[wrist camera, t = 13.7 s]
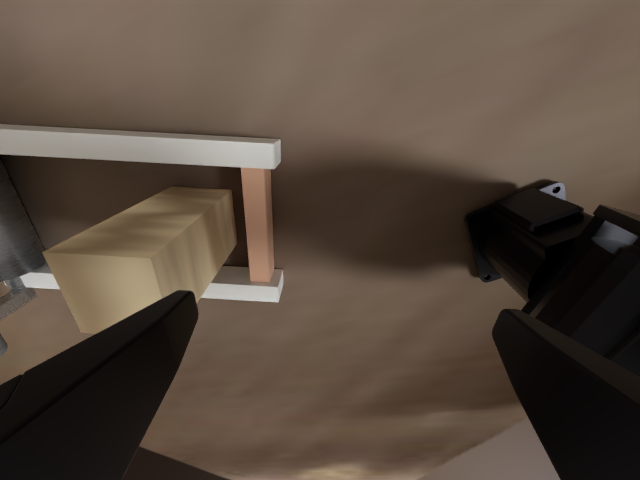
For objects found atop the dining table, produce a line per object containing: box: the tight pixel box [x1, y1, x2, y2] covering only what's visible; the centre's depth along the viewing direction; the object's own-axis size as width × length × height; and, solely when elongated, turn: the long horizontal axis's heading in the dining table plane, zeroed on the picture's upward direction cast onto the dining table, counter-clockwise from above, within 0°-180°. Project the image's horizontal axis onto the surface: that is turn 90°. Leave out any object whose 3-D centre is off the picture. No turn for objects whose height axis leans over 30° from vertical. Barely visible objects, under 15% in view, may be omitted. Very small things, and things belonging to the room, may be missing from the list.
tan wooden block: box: [42, 187, 237, 334], centre depth 16 cm, size 4×4×10 cm
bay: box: [0, 124, 283, 356], centre depth 19 cm, size 23×17×6 cm
